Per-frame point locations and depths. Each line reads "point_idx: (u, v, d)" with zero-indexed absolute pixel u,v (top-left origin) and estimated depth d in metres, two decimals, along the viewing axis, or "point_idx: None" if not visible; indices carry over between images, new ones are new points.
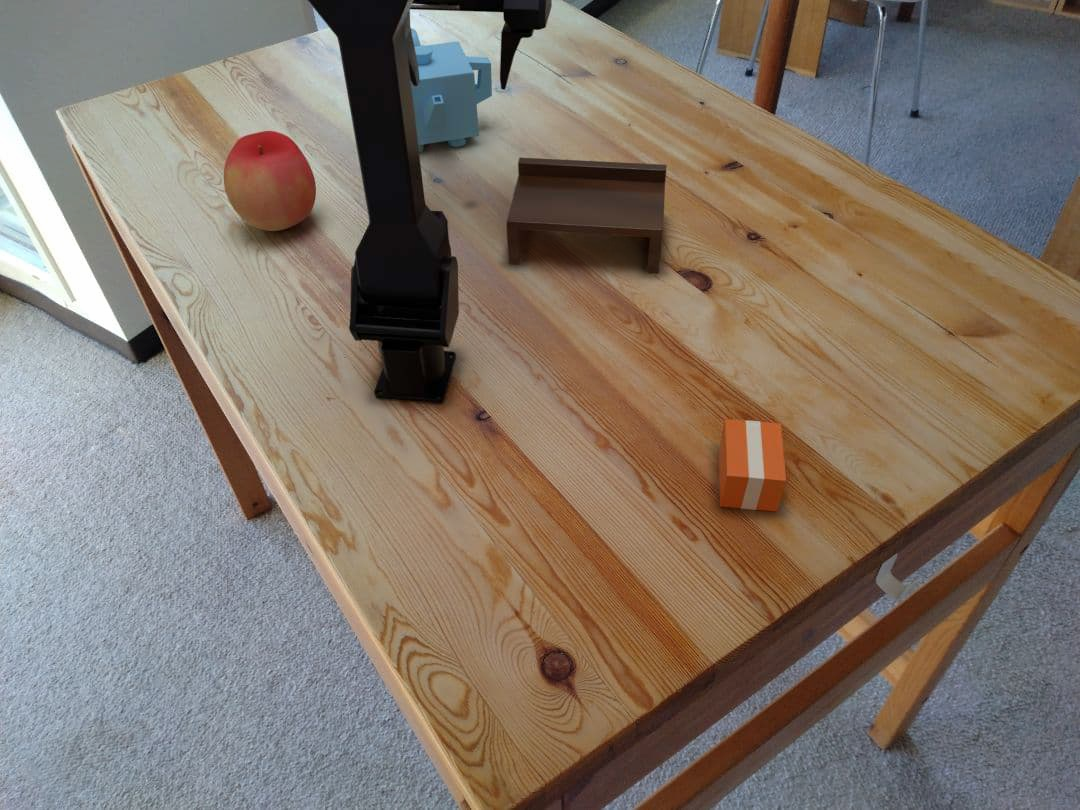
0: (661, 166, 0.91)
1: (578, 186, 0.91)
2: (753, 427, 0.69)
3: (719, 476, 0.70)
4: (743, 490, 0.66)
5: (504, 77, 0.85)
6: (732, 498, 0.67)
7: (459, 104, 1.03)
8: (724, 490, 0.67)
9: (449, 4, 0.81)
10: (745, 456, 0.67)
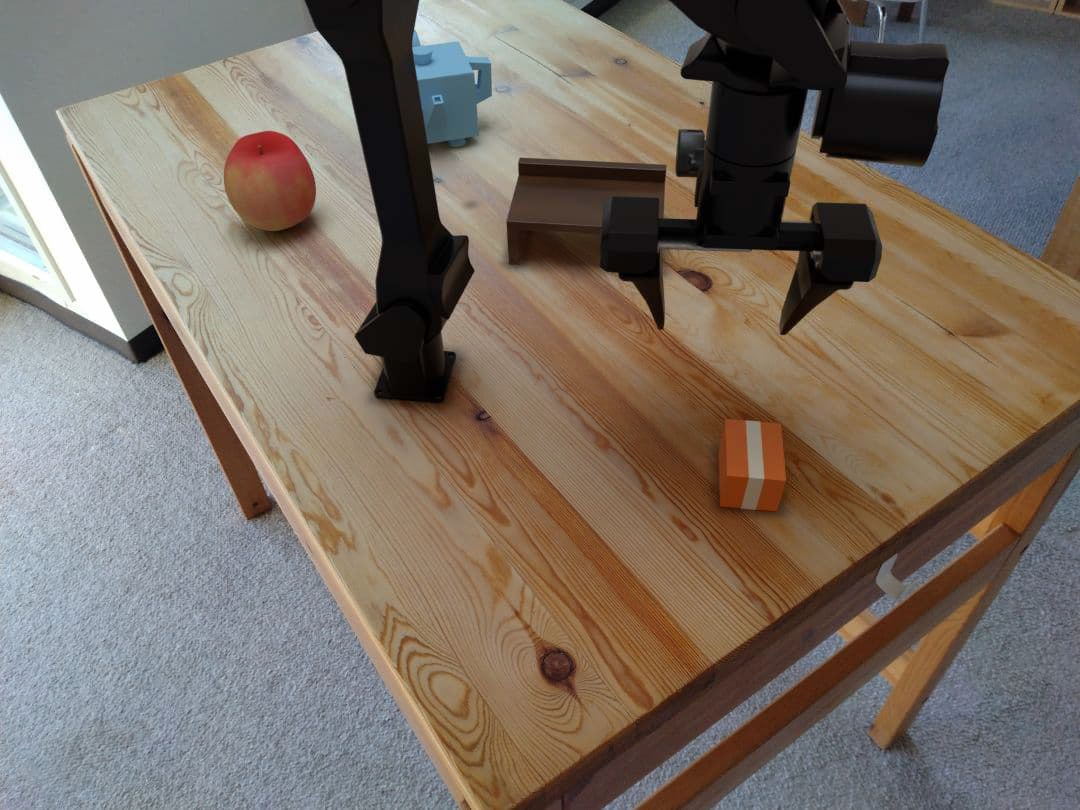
0: (661, 166, 0.91)
1: (578, 186, 0.91)
2: (753, 427, 0.69)
3: (719, 476, 0.70)
4: (743, 490, 0.66)
5: (791, 325, 0.63)
6: (732, 498, 0.67)
7: (459, 104, 1.03)
8: (724, 490, 0.67)
9: None
10: (745, 456, 0.67)
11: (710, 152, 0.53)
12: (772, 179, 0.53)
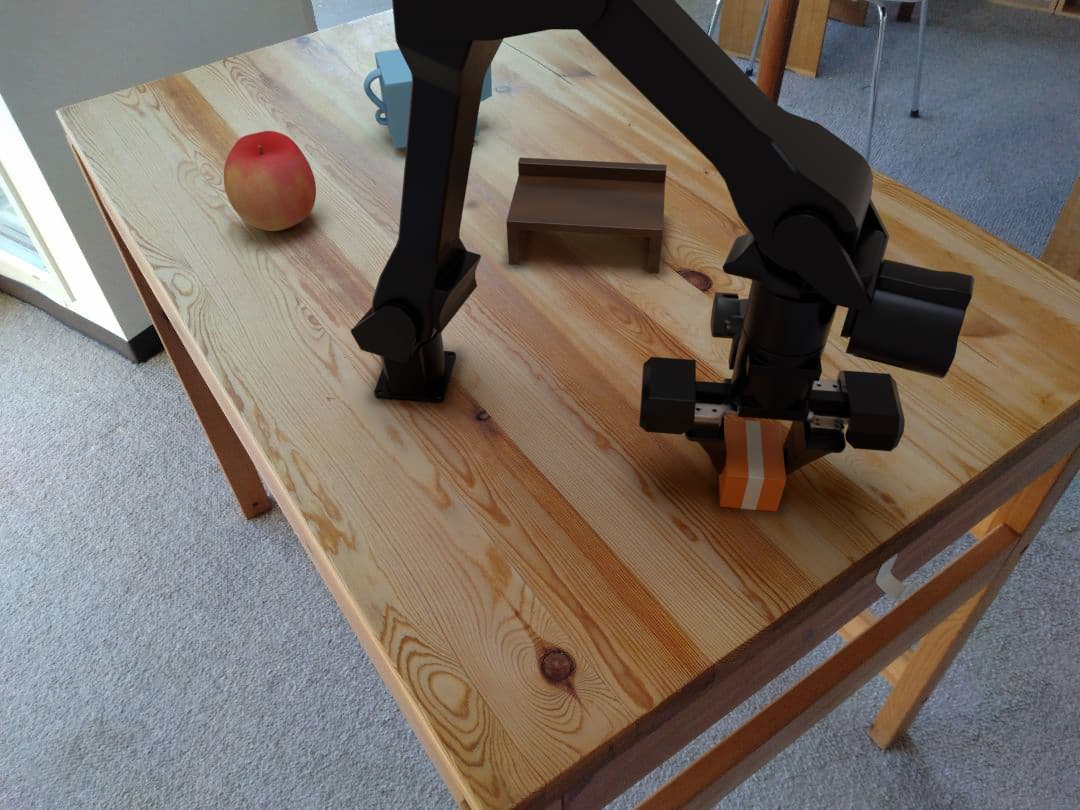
0: (661, 166, 0.91)
1: (578, 186, 0.91)
2: (753, 427, 0.69)
3: (719, 476, 0.70)
4: (743, 490, 0.66)
5: (787, 473, 0.67)
6: (732, 498, 0.67)
7: None
8: (724, 490, 0.67)
9: None
10: (745, 456, 0.67)
11: (748, 337, 0.58)
12: (805, 365, 0.57)
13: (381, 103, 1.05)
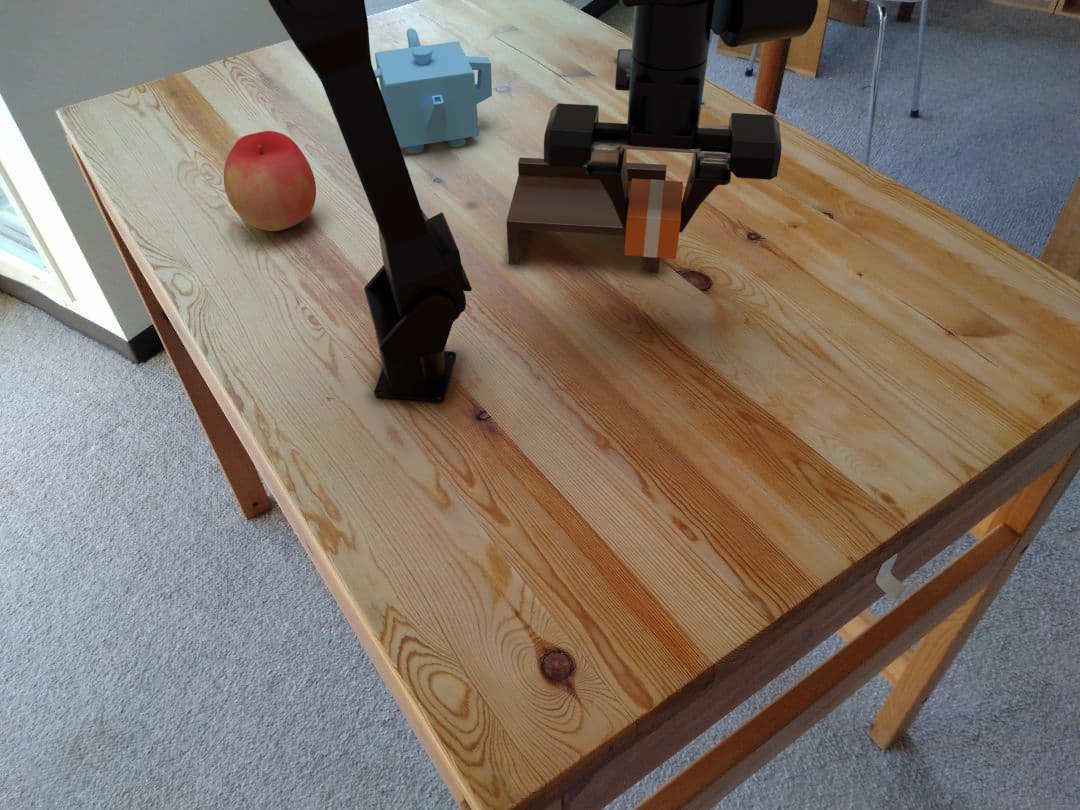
0: (661, 166, 0.91)
1: (578, 186, 0.91)
2: (657, 184, 0.75)
3: None
4: (643, 234, 0.72)
5: (685, 221, 0.73)
6: (634, 244, 0.73)
7: (459, 104, 1.03)
8: (626, 235, 0.73)
9: (688, 147, 0.68)
10: (646, 203, 0.73)
11: (634, 59, 0.63)
12: (684, 82, 0.63)
13: None
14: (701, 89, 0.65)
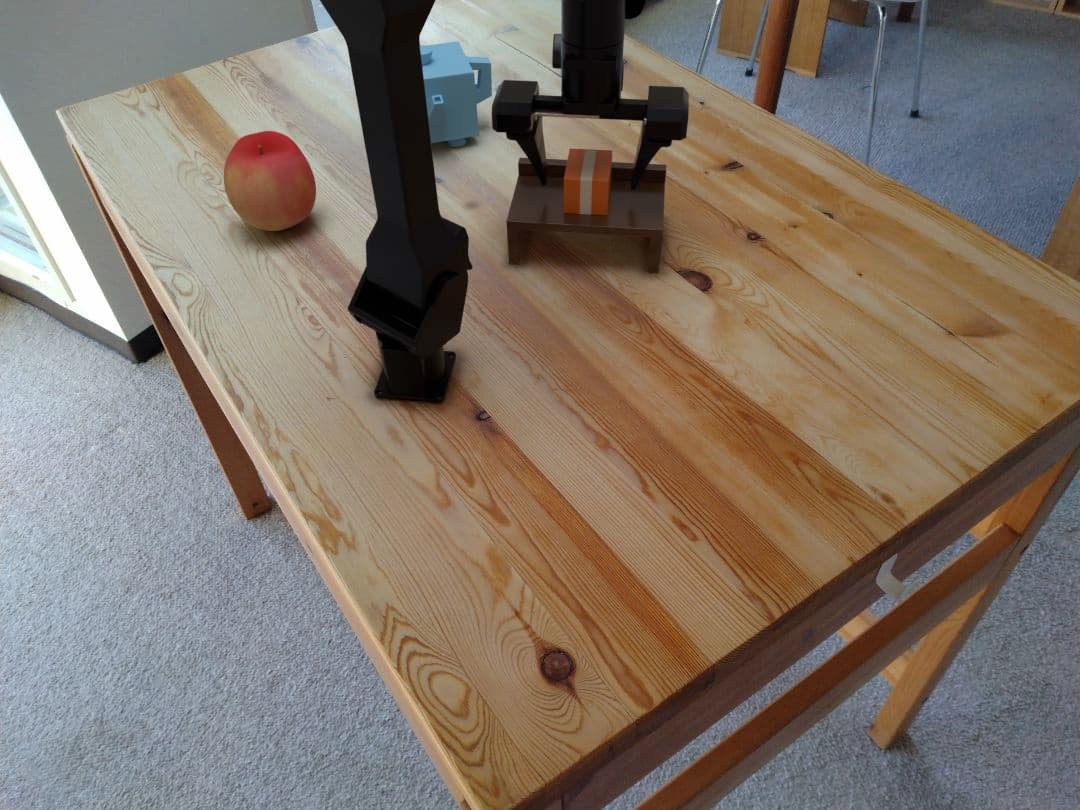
0: (661, 166, 0.91)
1: None
2: (590, 152, 0.88)
3: None
4: (578, 194, 0.86)
5: (636, 180, 0.86)
6: (571, 203, 0.87)
7: (459, 104, 1.03)
8: (564, 195, 0.86)
9: (589, 114, 0.81)
10: (580, 168, 0.86)
11: (563, 40, 0.77)
12: (604, 59, 0.76)
13: None
14: (620, 65, 0.78)
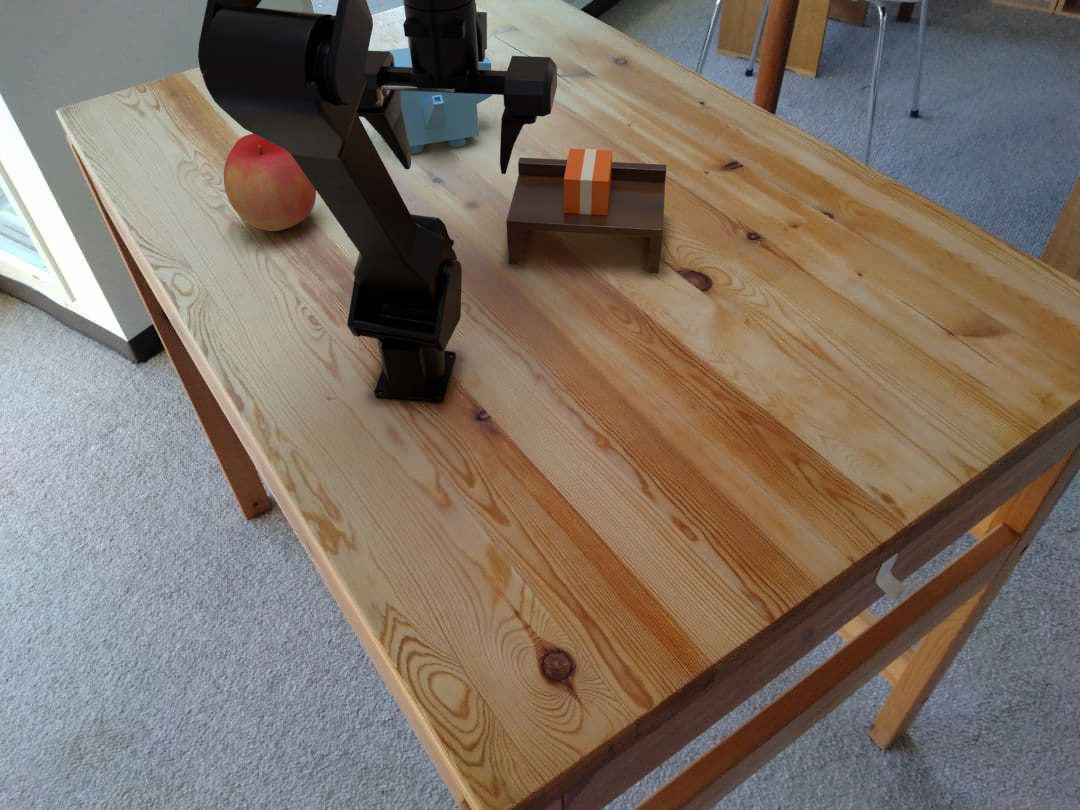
0: (661, 166, 0.91)
1: None
2: (590, 152, 0.88)
3: None
4: (578, 194, 0.86)
5: (505, 162, 0.77)
6: (571, 203, 0.87)
7: (459, 104, 1.03)
8: (564, 195, 0.86)
9: (443, 87, 0.72)
10: (580, 168, 0.86)
11: (404, 2, 0.68)
12: (449, 23, 0.67)
13: None
14: (471, 31, 0.69)
